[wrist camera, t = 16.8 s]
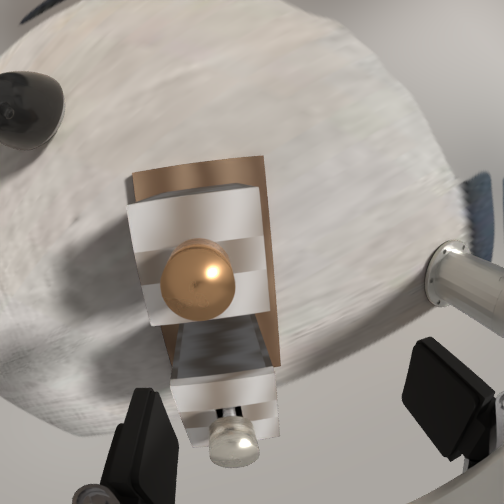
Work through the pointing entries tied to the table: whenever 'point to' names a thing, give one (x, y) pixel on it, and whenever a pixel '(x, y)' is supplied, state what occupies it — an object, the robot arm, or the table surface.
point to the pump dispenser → (29, 109)
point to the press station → (245, 299)
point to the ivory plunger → (232, 441)
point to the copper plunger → (198, 280)
